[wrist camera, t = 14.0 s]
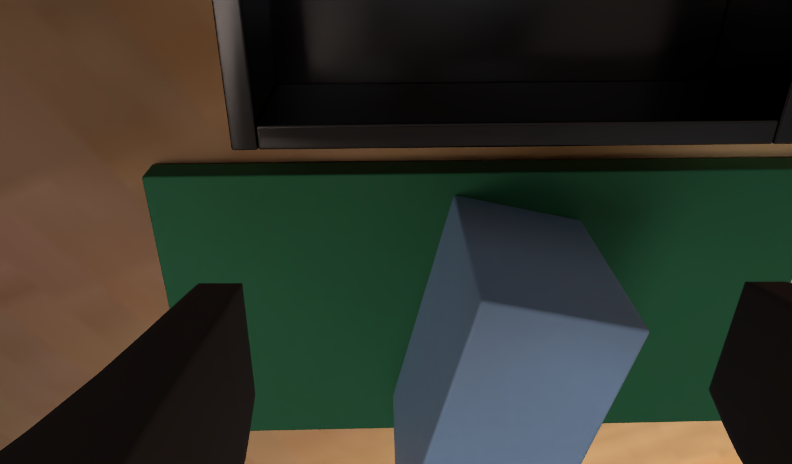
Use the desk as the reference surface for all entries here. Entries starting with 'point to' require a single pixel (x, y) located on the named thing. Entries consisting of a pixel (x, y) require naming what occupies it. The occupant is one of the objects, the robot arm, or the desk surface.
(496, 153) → the desk surface
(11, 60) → the desk surface
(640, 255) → the felt mat
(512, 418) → the blue-grey rectangular block
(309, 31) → the desk tray
